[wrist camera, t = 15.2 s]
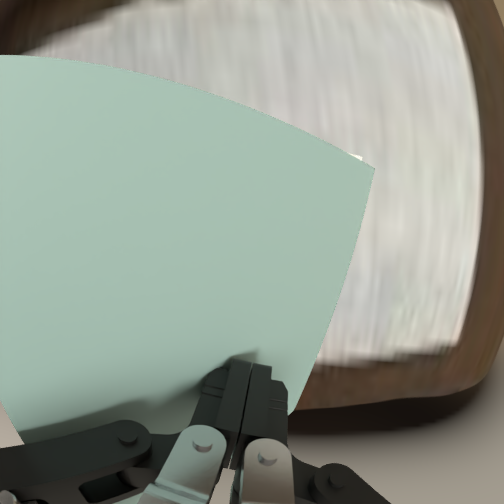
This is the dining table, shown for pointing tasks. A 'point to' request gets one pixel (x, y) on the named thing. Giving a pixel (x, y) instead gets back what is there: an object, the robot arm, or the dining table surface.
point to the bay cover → (157, 245)
